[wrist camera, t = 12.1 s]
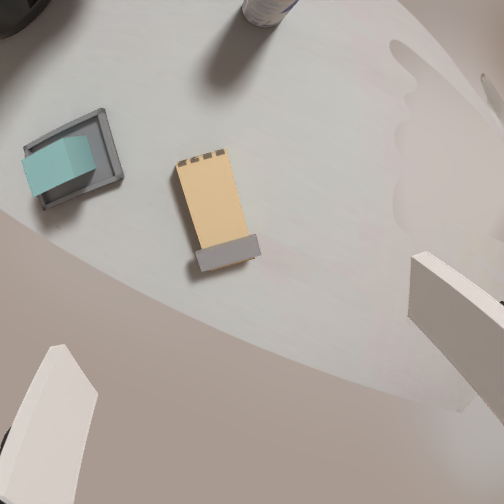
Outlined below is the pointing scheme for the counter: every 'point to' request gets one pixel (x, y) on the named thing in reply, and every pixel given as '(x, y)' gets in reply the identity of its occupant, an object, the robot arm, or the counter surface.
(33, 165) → the block
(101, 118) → the tray
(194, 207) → the tan notched slab
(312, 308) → the counter surface
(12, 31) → the robot arm
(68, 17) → the counter surface
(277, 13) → the energy drink
